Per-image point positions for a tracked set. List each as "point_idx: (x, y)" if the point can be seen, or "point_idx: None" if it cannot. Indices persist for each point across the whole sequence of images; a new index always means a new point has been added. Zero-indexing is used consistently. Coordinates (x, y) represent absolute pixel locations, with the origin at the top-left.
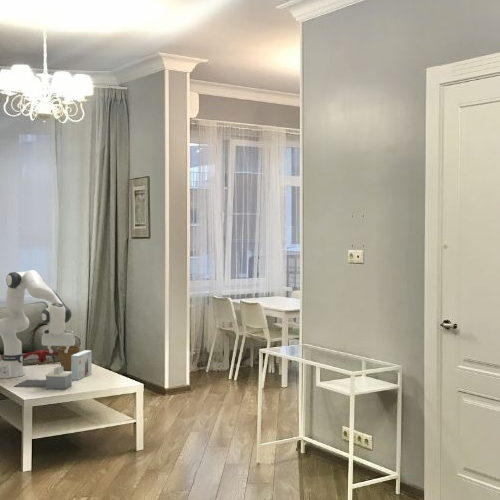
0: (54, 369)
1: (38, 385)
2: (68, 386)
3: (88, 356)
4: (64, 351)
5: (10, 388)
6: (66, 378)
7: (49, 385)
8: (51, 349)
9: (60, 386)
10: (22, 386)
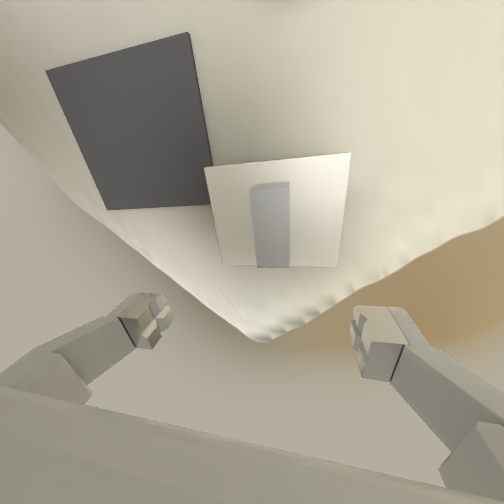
0: (260, 265)
1: (180, 187)
2: None
3: None
4: (358, 357)
5: (120, 233)
6: None
7: None
8: (115, 321)
9: None
10: (136, 208)
